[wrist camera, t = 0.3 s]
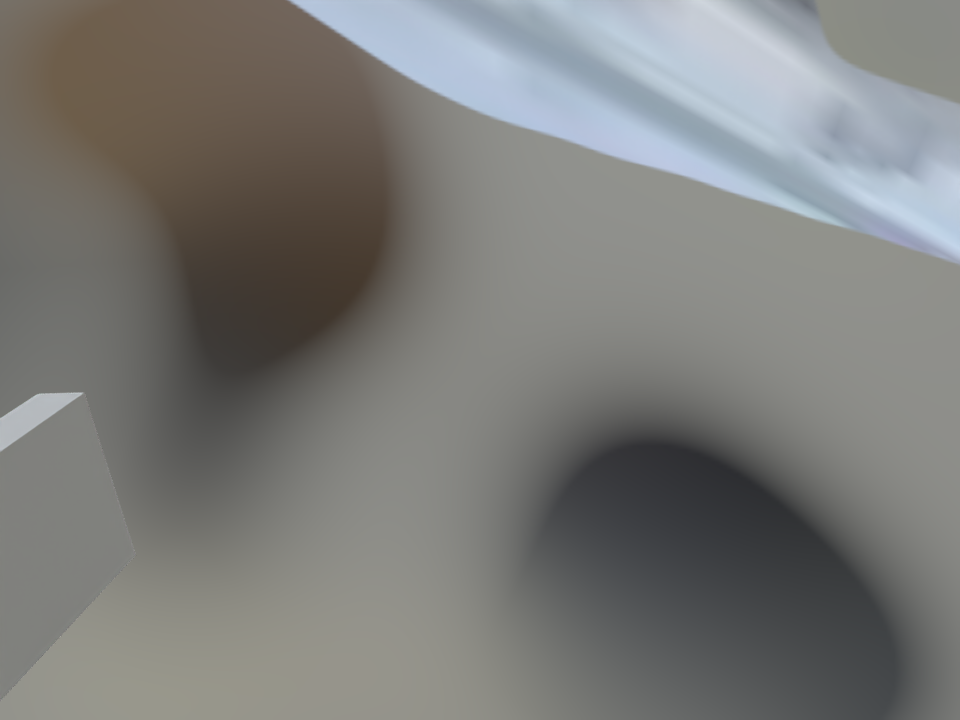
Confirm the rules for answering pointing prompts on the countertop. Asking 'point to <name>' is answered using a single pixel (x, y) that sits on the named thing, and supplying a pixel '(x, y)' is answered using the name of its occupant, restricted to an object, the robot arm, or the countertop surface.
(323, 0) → the countertop surface
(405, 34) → the countertop surface
